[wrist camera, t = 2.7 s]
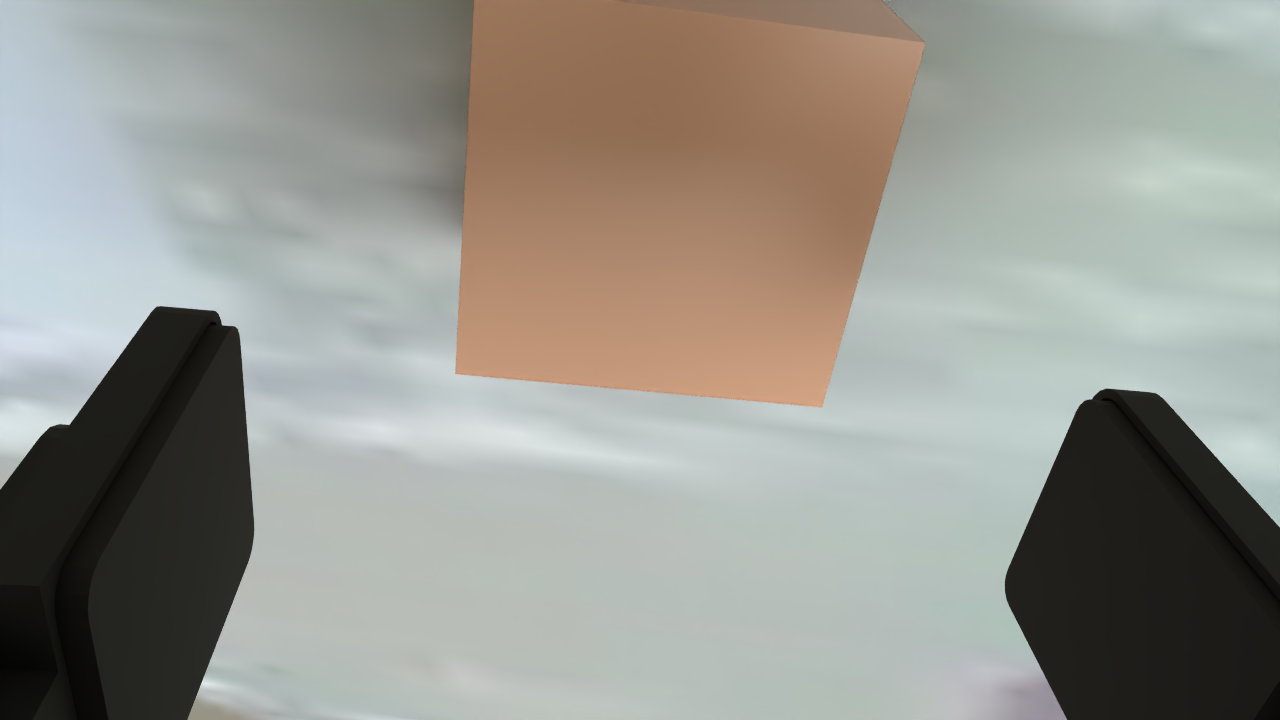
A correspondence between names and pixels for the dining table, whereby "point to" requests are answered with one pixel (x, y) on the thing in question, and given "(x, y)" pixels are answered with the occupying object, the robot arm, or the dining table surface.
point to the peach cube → (675, 189)
